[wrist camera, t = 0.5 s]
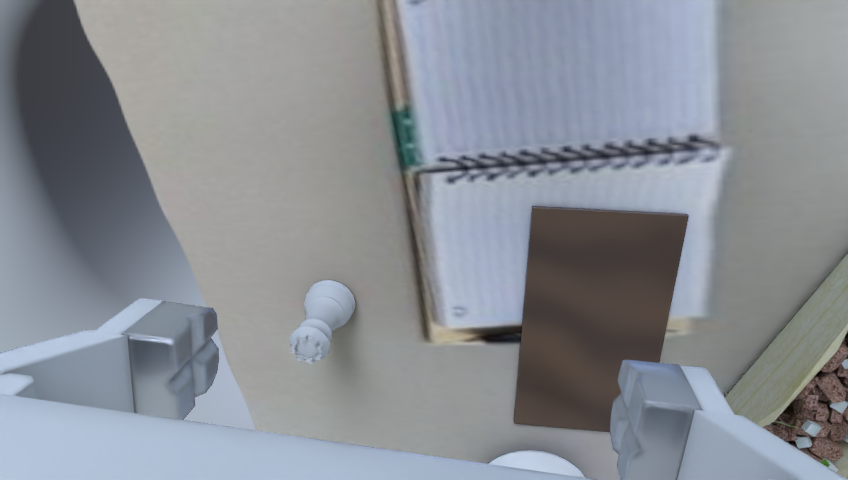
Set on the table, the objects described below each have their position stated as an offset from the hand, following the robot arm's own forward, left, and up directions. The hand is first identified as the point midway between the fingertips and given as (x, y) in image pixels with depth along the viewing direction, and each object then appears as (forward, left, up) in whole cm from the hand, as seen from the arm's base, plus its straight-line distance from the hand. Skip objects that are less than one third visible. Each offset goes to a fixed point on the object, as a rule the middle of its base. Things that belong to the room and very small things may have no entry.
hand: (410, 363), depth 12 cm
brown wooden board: (+22, +10, -37) cm, 45 cm away
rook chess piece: (+21, -13, -38) cm, 45 cm away
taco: (+21, +27, -38) cm, 51 cm away
